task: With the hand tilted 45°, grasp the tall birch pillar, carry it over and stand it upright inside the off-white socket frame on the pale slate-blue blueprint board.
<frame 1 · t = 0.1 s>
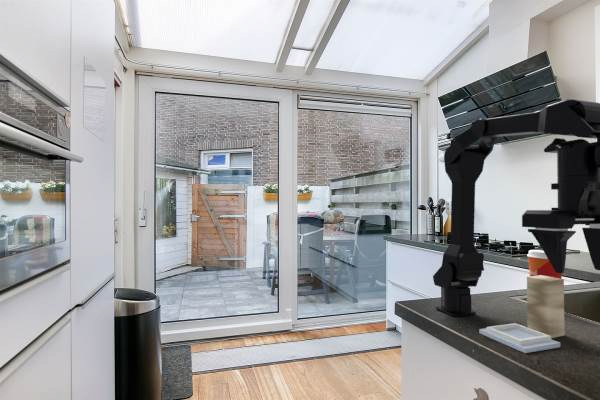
hand: (579, 271, 58), 15 cm above the counter, tool pointing down, fingers open, 9 cm apart
paper cup: (545, 308, 88), on the counter
birch pillar: (545, 333, 70), on the counter
blueprint board: (517, 339, 67), on the counter
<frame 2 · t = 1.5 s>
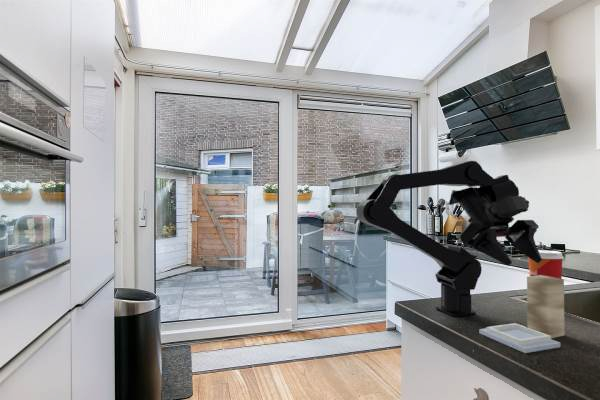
hand: (525, 263, 73), 14 cm above the counter, tool tilted 45°, fingers open, 9 cm apart
nothing on the counter moved.
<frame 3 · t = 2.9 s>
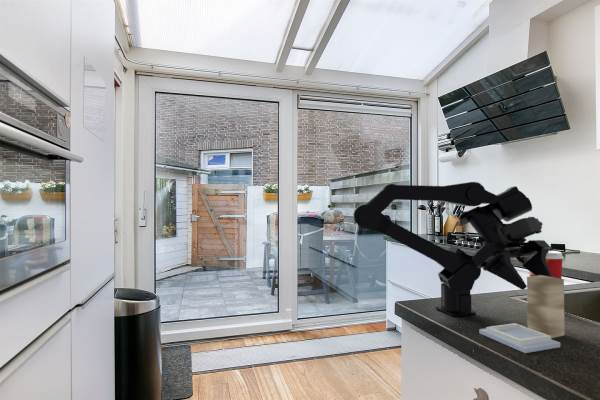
hand: (539, 286, 72), 9 cm above the counter, tool tilted 45°, fingers open, 9 cm apart
nothing on the counter moved.
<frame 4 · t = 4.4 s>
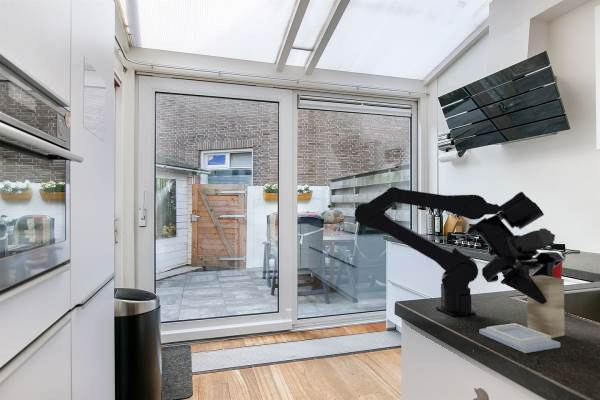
hand: (552, 301, 69), 7 cm above the counter, tool tilted 45°, fingers closed on birch pillar, 4 cm apart
birch pillar: (545, 333, 70), on the counter, touching gripper
everything else where it was.
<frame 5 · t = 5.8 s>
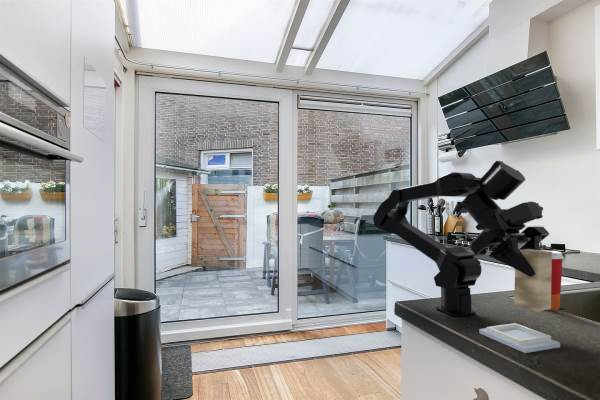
hand: (540, 274, 68), 12 cm above the counter, tool tilted 45°, fingers closed on birch pillar, 4 cm apart
birch pillar: (532, 306, 69), point 6 cm above the counter, touching gripper
everything else where it was.
when the fingers open (9 cm above the counter, at t = 7.3 s): birch pillar drops 1 cm, resting on blueprint board.
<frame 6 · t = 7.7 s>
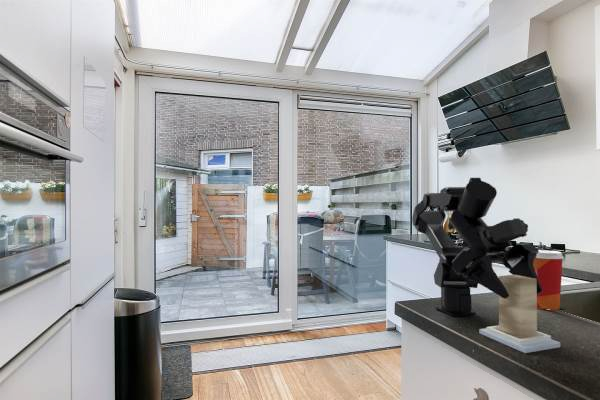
hand: (524, 294, 66), 9 cm above the counter, tool tilted 45°, fingers open, 9 cm apart
birch pillar: (517, 335, 67), point 1 cm above the counter, touching blueprint board
everything else where it was.
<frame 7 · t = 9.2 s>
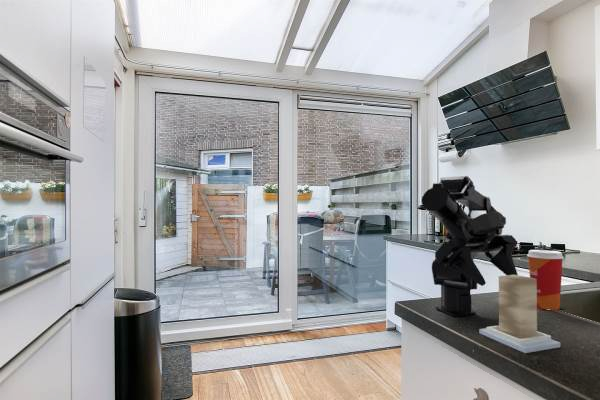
hand: (500, 282, 71), 10 cm above the counter, tool tilted 45°, fingers open, 9 cm apart
nothing on the counter moved.
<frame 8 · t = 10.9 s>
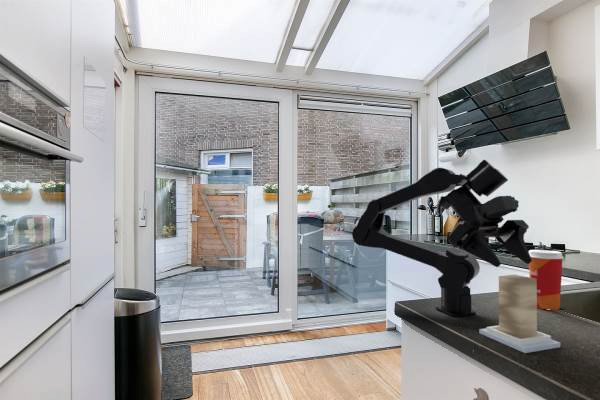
hand: (514, 264, 72), 14 cm above the counter, tool tilted 45°, fingers open, 9 cm apart
nothing on the counter moved.
at the end: birch pillar 0.0 cm off-centre on the blueprint board, point 0.8 cm above the blueprint board's base; birch pillar tilted 0°; the gripper is holding nothing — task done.
